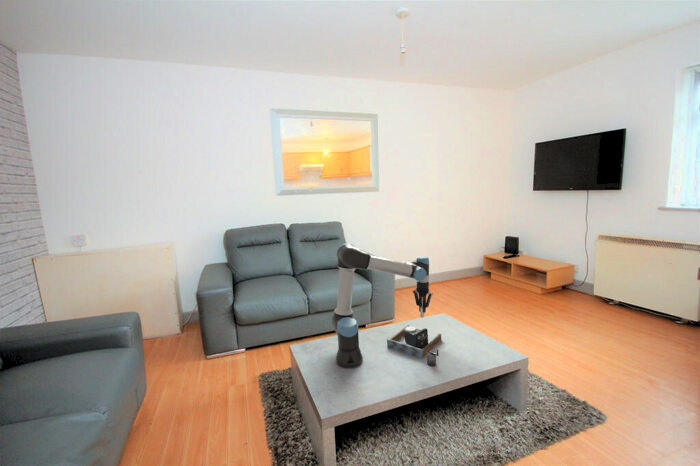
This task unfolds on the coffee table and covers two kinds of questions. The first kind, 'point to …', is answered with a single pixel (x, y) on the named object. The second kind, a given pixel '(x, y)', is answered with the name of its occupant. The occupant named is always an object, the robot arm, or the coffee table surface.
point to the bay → (410, 349)
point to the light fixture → (416, 337)
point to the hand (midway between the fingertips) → (422, 316)
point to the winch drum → (431, 358)
